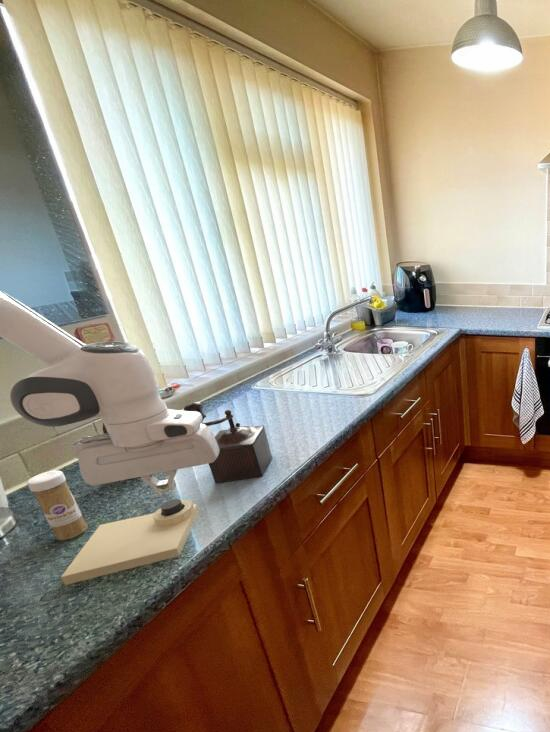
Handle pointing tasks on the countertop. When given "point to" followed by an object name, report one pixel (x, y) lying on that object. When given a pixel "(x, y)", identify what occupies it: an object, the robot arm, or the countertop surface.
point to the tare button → (171, 507)
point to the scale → (132, 543)
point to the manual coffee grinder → (237, 449)
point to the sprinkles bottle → (58, 504)
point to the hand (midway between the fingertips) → (166, 489)
